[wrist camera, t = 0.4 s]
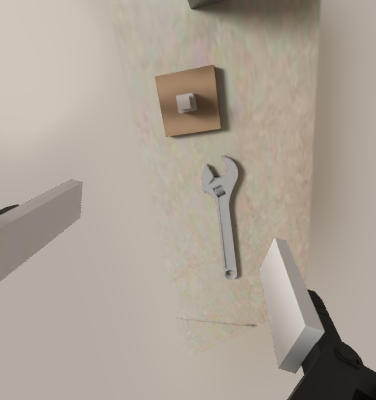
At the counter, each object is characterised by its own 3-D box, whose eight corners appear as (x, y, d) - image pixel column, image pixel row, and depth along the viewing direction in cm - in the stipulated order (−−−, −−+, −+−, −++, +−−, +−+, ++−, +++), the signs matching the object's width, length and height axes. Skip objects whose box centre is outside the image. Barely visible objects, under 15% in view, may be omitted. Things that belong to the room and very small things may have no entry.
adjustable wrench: (237, 274, 50) (238, 280, 49) (207, 273, 51) (206, 279, 50) (237, 155, 41) (238, 158, 39) (200, 157, 42) (199, 159, 41)
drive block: (158, 78, 38) (146, 73, 33) (214, 66, 37) (212, 60, 31) (168, 135, 42) (159, 140, 36) (220, 127, 40) (220, 131, 34)
